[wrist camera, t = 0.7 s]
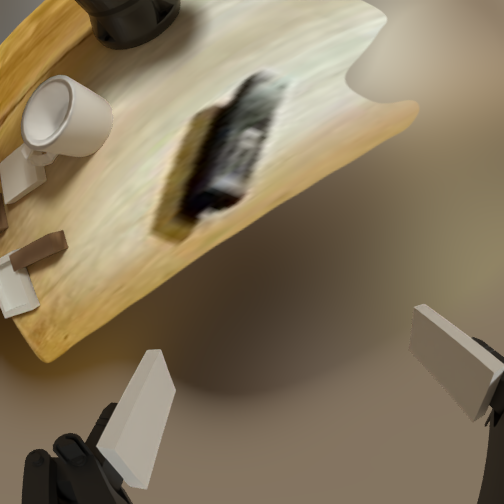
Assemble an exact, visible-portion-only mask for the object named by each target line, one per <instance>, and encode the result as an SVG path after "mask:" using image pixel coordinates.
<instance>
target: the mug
mask: <svg viewBox="0 0 504 504" xmlns="http://www.w3.org/2000/svg"><path fill="white" fill-rule="evenodd" d="M112 125H113V111H112V107H111V105H110V104H109V102H108V101H107V100H105V99H104V98H103V97H101V96H99V95H98V94H96V93H95V92H93V91H91V90H90V89H88V88H86V87H85V86H83V85H81V84H80V83H78V82H76V81H75V80H73V79H71V78H70V77H68V76H66V75H56V76H53V77H50V78H49V79H47V80H46V81H44V82H43V83H41V84H40V85H39V86H38V88H37V89H36V90H35V91H34V92H33V94H32V95H31V97H30V98H29V100H28V102H27V104H26V106H25V109H24V112H23V115H22V121H21V135H22V138H23V141H24V143H25V145H24V147H23V149H22V150H21V152H22V153H23V155H24V157H25V159H26V160H27V161H28V162H29V163H30V164H31V166H39V167H42V166H46V165H50V164H52V163H53V162H54V160H55V159H56V157H57V156H58V155H59V154H61V155H67V156H74V157H87V156H89V155H91V154H93V153H95V152H96V151H97V150H98V149H99V148H100V147H102V146H103V144H104V143H105V141H106V140H107V138H108V137H109V134H110V132H111V129H112ZM34 150H36V151H42V152H47V153H46V154H43V155H32V154H33V152H34Z"/></svg>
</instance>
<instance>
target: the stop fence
mask: <svg viewBox="0 0 504 504" xmlns="http://www.w3.org/2000/svg"><path fill="white" fill-rule="evenodd" d="M66 248H68V245H67V242H66V239H65V235H64V232H63V230H61V231H58V232H54V233H50V234H47V235H45V236H43V237H42V238H40V239H38V240H36V241H34V242H32V243H30V244H28V245H27V246H25V247H23V248H21V249H19V250H18V251H16V252H14V253H12V254H11V255H9V258H10V261H11V265H12V268H13V271H14V272H15V271H17V270H19V269H22V268H24V267H27V266H29V265H31V264H33V263H35V262H37V261H39V260H42V259H44V258H46V257H48V256H50V255H53V254H55V253H57V252H59V251H62V250H64V249H66Z"/></svg>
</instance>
